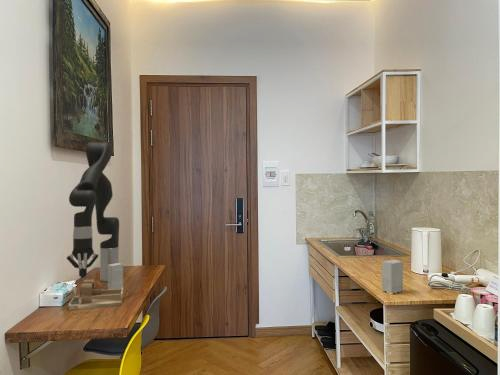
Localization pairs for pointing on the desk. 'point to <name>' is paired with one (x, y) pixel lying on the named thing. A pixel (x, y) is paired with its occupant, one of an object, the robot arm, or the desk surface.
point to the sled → (96, 289)
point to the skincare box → (115, 276)
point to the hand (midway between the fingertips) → (82, 277)
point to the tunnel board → (95, 297)
